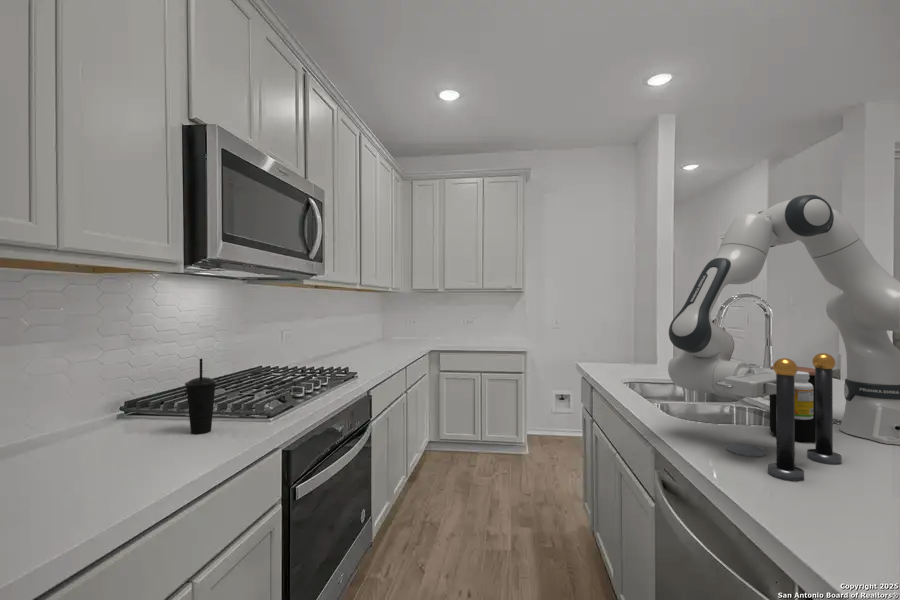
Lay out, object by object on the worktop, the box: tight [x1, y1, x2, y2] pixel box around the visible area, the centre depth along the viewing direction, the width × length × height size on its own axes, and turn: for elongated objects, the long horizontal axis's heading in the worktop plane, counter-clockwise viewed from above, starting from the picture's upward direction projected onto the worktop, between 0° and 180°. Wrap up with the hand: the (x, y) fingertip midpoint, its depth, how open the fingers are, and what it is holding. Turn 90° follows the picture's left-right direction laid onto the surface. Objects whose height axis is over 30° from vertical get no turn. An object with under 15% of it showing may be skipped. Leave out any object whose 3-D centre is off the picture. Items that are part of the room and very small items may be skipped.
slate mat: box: [725, 443, 767, 458], centre depth 108 cm, size 8×8×1 cm
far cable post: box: [806, 352, 843, 466], centre depth 102 cm, size 6×6×24 cm
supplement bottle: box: [794, 371, 813, 420], centre depth 99 cm, size 5×5×10 cm
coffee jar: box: [769, 365, 815, 443], centre depth 119 cm, size 11×11×18 cm
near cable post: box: [767, 357, 805, 482], centre depth 93 cm, size 6×6×24 cm
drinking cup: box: [184, 358, 217, 435], centre depth 124 cm, size 8×8×20 cm
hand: (802, 389), depth 98 cm, fingers closed on supplement bottle, 5 cm apart
